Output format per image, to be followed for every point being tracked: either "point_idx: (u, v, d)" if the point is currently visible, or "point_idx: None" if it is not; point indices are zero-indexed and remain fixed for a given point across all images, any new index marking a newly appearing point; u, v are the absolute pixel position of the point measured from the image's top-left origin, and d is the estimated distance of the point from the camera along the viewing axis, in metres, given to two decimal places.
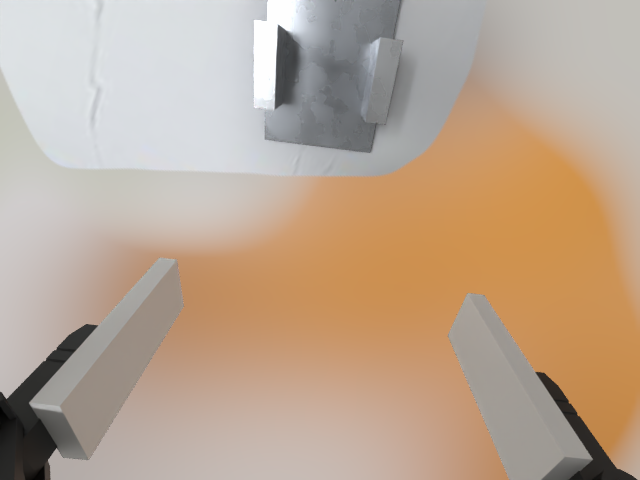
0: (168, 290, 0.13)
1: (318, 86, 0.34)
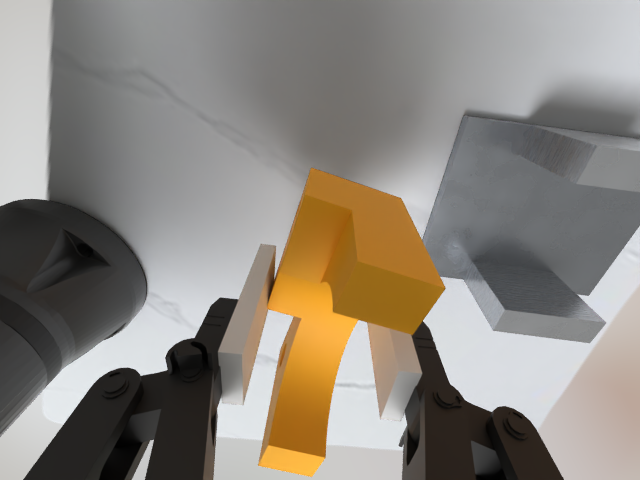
0: (271, 272, 0.15)
1: (549, 228, 0.24)
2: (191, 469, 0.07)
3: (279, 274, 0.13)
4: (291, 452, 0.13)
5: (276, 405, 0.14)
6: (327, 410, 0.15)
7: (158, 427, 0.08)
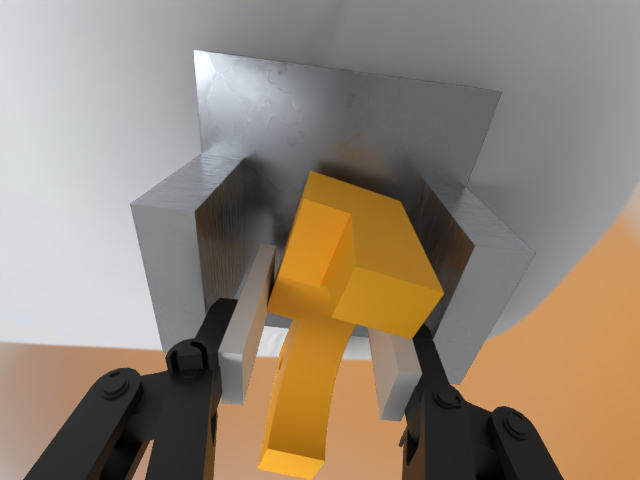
0: (271, 272, 0.15)
1: None
2: (191, 469, 0.07)
3: (278, 277, 0.13)
4: (290, 455, 0.13)
5: (275, 408, 0.14)
6: (326, 413, 0.14)
7: (158, 427, 0.08)
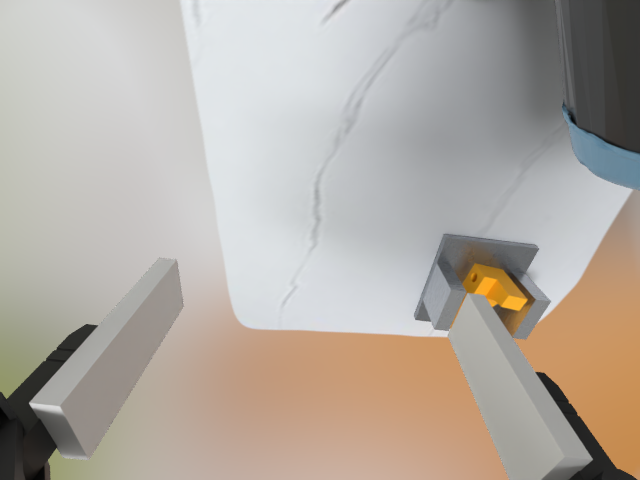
0: (168, 290, 0.13)
1: None
2: None
3: None
4: None
5: None
6: None
7: None
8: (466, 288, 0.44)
